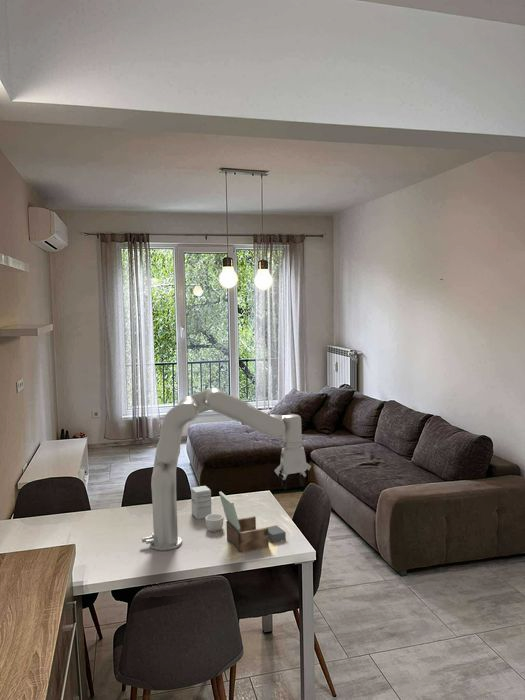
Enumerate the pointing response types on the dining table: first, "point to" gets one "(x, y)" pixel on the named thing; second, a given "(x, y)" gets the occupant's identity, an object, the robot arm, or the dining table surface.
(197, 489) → the supplement box
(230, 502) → the cover
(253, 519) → the wooden u-shaped stand
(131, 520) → the dining table surface
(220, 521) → the teacup
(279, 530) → the slate cuboid
